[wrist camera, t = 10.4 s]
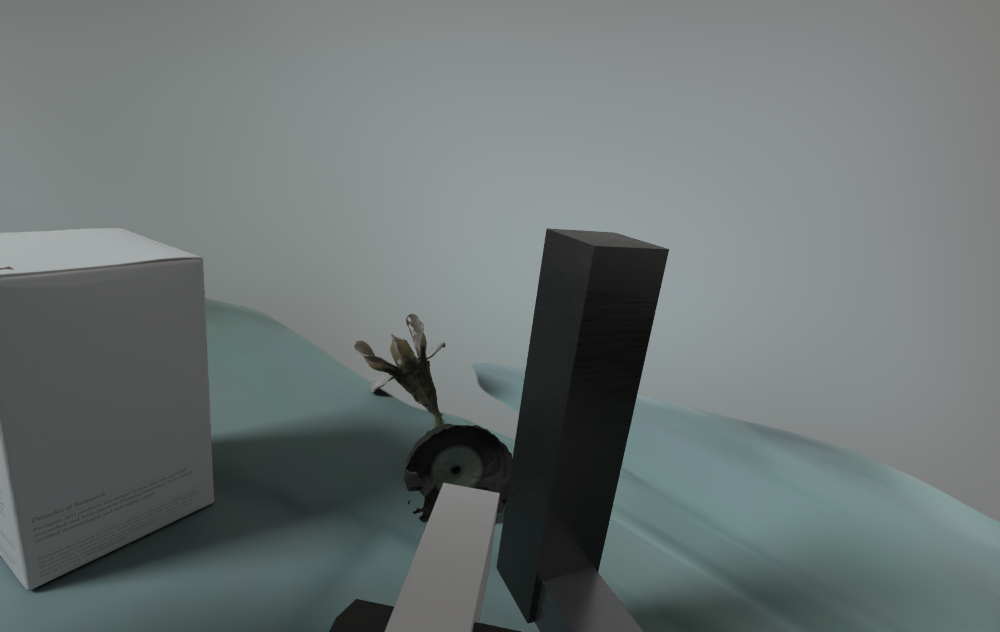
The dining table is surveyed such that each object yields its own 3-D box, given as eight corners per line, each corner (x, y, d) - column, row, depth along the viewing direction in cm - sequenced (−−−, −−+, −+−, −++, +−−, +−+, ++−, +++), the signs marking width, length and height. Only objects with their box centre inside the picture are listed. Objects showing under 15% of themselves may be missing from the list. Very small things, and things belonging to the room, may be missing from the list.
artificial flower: (379, 559, 30) (336, 402, 28) (377, 413, 52) (352, 316, 49) (525, 515, 32) (496, 362, 30) (464, 390, 53) (445, 296, 51)
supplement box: (221, 503, 31) (210, 255, 27) (26, 598, 24) (-33, 277, 19) (145, 445, 36) (125, 224, 31) (-38, 509, 28) (-98, 232, 24)
